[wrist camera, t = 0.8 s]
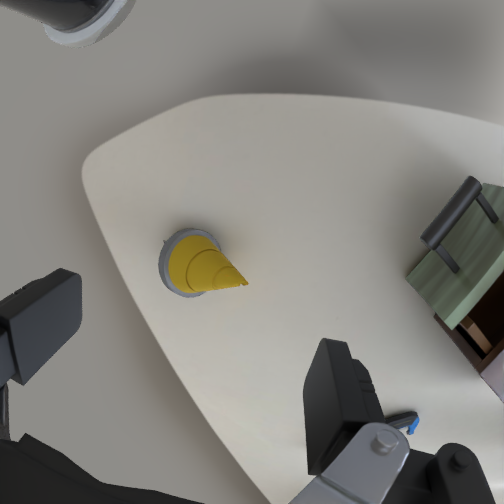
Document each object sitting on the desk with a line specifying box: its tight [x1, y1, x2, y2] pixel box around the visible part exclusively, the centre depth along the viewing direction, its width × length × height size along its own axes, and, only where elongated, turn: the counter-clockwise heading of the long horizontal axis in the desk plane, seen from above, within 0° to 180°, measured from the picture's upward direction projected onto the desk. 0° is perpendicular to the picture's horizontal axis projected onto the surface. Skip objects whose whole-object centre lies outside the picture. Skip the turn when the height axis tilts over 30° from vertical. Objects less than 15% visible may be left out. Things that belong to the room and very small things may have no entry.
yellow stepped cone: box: [158, 229, 248, 298], centre depth 24 cm, size 5×5×10 cm
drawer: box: [406, 176, 504, 356], centre depth 21 cm, size 18×12×8 cm, turn 51°
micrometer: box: [386, 412, 419, 435], centre depth 32 cm, size 12×2×5 cm
